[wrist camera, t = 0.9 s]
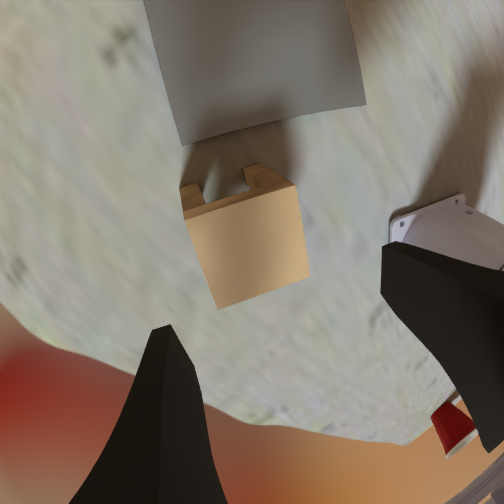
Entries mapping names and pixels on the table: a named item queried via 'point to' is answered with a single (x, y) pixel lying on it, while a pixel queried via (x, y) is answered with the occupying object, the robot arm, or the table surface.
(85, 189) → the table surface
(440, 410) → the plastic cup
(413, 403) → the table surface
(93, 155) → the table surface
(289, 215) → the stool
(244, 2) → the plate
